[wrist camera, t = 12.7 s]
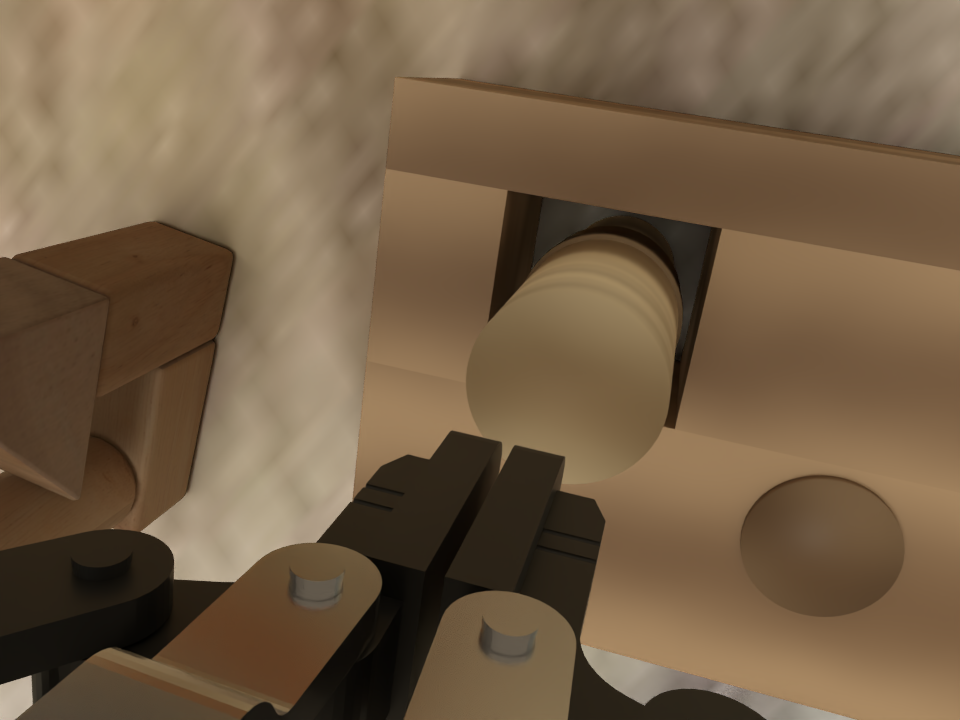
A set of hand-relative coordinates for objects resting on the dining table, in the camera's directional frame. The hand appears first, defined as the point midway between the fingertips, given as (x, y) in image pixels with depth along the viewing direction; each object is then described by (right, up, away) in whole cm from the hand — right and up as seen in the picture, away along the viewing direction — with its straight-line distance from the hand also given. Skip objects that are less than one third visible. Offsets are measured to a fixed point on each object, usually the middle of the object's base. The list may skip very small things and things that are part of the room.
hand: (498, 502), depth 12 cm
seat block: (+7, +2, +16) cm, 17 cm away
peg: (+4, +5, +16) cm, 17 cm away
